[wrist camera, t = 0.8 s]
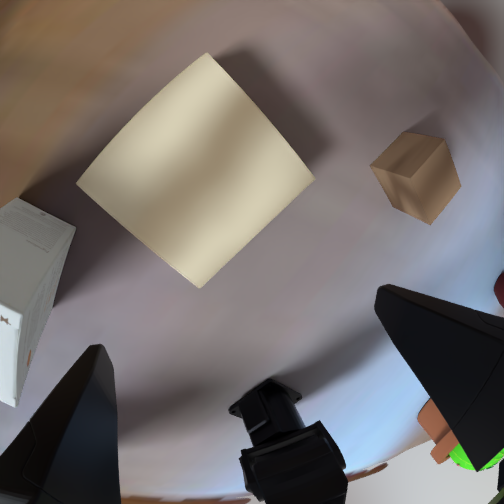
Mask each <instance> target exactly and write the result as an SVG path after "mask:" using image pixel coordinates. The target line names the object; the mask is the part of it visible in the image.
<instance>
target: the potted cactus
mask: <svg viewBox="0 0 504 504" xmlns="http://www.w3.org/2000/svg"><path fill="white" fill-rule="evenodd" d="M417 419H418V422H419V423H420V425H421V426H422V427H423V428H424V430H425V431H426V432H427V433H428V435H429V436H430V437H431V439H432V440H433V441H434V442H435V444H436V446H435V447H434V448H433V450H432V451H431V453H430V454H431V455H432V457H433V458H434V460H435V461H436V462H437V463H438V464H441V463H443V462H444V461H446V460H447V459H449V458H450V457H451V458H452V460H453V461H454V462H455V463H456V464H457V466H461V467H463V468H465V469H469V470H475V469H474V467H473V466H472V464H471V462H470V460H469V459H468V457H467V455H466V454H465V452H464V450H463V449H462V447H461V445H460V444H459V442H458V440H457V439H456V437H455V435H454V434H453V432H452V430H451V429H450V427H449V425H448V424H447V422H446V421H445V419H444V418H443V416H442V414H441V413H440V411H439V410H438V408H437V407H436V405H435V404H434V402H433V401H432V399H431V398H430V399H429V400H428V402H427V403H426V404H425V405H424V407H423V408H422V409H421V411H420V413H419V415H418V418H417ZM503 456H504V448H503V449H502V450H501V451H500V452H499V453H498V454H497V455H496V456H495V457H494V458H493V459H492V460H491V461H490V462H489V463H487V464H486V465H485V466H484V467H483V468H482V469H481V470H479V471H482V470H484V469H485V468H486V469H489V468H492V467H491V466H493V465H495V464H497V463H498V461H499V460H501V458H502V457H503Z"/></svg>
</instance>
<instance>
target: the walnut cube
mask: <svg viewBox="0 0 504 504" xmlns="http://www.w3.org/2000/svg"><path fill="white" fill-rule="evenodd" d="M370 167H371V169H372V170H373V172H374V174H375V175H376V177H377V179H378V181H379V182H380V184H381V186H382V188H383V189H384V191H385V193H386V195H387V197H388V199H389V200H390V202H391V204H392V206H393V207H394V208H396V209H398V210H400V211H403V212H405V213H407V214H409V215H411V216H413V217H415V218H417V219H419V220H421V221H423V222H425V223H427V224H429V225H431V224H432V223H433V221H434V220H435V219H436V218H437V217H438V215H439V214H440V213H441V212H442V210H443V209H444V208H445V207H446V205H447V204H448V203H449V202H450V200H451V199H452V198H453V197H454V195H455V194H456V193H457V191H458V190H459V189H460V187H461V184H460V181H459V178H458V175H457V171H456V168H455V166H454V163H453V160H452V157H451V154H450V152H449V149H448V146H447V144H446V141H445V139H442V138H437V137H432V136H426V135H421V134H415V133H409V132H403V133H402V134H401V135H400V136H399V137H398V138H397V139H396V140H395V141H394V142H393V143H392V144H391V145H390V146H389V147H388V148H387V149H386V150H385V151H384V152H383V153H382V154H381V155H380V156H379V157H378V158H377V159H376V160H375V161H374V162H373V163H372V164H371V165H370Z"/></svg>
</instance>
